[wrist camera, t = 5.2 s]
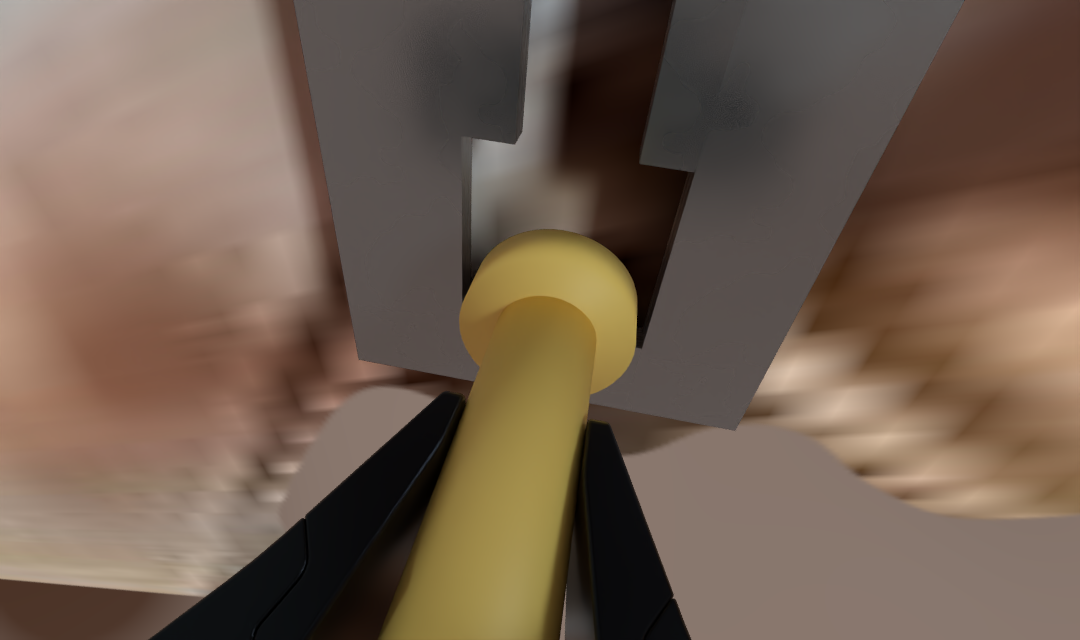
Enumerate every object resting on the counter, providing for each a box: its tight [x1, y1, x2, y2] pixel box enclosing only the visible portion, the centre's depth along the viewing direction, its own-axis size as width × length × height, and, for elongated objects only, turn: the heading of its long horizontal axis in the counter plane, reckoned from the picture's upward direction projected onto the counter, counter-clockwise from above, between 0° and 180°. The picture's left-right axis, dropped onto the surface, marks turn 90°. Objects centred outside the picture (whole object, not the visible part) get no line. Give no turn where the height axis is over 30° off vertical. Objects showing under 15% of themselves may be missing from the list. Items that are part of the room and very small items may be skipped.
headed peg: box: [377, 229, 637, 640], centre depth 9 cm, size 4×4×9 cm
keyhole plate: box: [293, 0, 965, 430], centre depth 13 cm, size 14×22×3 cm, turn 174°
